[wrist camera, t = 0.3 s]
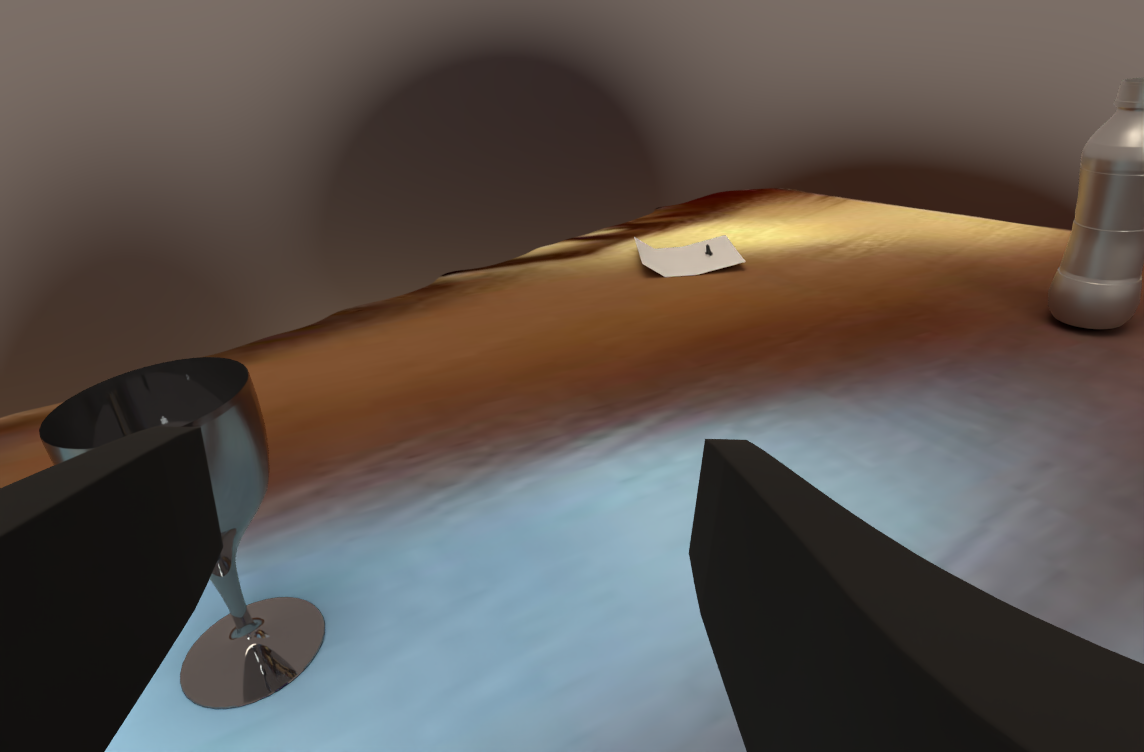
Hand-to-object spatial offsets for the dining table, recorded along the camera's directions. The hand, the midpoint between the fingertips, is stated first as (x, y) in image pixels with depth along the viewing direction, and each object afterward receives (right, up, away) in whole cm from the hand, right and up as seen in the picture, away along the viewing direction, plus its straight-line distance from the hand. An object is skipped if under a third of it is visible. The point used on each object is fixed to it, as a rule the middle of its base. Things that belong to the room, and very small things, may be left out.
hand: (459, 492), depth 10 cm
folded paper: (+16, +16, +77) cm, 80 cm away
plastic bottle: (+47, +6, +51) cm, 70 cm away
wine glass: (-15, -13, +26) cm, 32 cm away
